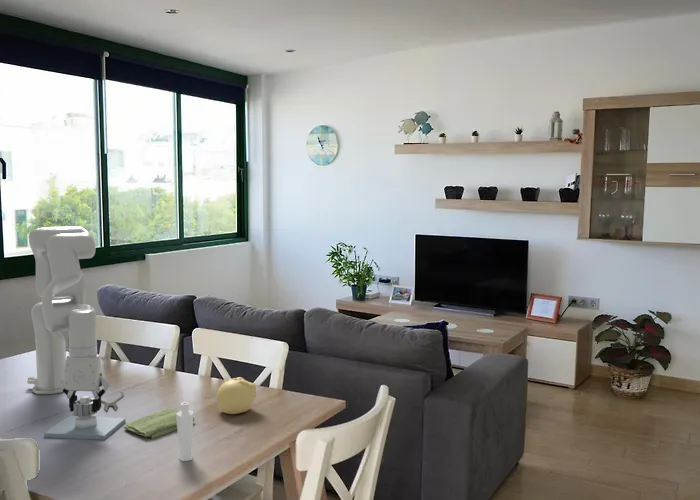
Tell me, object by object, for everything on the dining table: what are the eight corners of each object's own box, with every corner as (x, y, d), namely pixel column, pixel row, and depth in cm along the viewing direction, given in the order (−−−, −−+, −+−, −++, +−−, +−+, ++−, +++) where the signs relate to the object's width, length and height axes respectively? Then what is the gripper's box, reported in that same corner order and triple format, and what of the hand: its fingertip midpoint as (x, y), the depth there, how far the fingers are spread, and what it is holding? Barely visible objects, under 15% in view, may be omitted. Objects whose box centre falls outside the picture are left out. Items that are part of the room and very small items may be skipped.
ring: (69, 416, 191) (69, 404, 191) (80, 408, 197) (79, 397, 197) (90, 417, 190) (90, 405, 190) (100, 409, 197) (100, 398, 196)
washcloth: (121, 431, 194) (121, 421, 194) (170, 415, 208) (170, 405, 208) (148, 442, 186) (147, 431, 186) (197, 424, 200) (197, 414, 200)
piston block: (44, 437, 188) (42, 404, 187) (69, 419, 202) (67, 389, 201) (104, 439, 187) (103, 406, 186) (125, 421, 201) (124, 391, 200)
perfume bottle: (178, 454, 177) (177, 400, 175) (194, 454, 177) (193, 400, 176) (175, 462, 172) (174, 406, 171) (192, 461, 172) (191, 406, 171)
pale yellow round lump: (261, 408, 214) (260, 375, 213) (239, 419, 203) (239, 386, 202) (231, 402, 219) (231, 371, 218) (209, 414, 208) (209, 381, 207)
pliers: (120, 389, 230) (137, 405, 214) (120, 392, 231) (137, 408, 214) (91, 394, 225) (106, 411, 208) (92, 396, 225) (106, 413, 209)
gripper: (48, 353, 189) (50, 413, 191) (105, 355, 188) (107, 416, 189) (61, 347, 197) (63, 405, 198) (117, 348, 195) (119, 407, 197)
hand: (85, 410), depth 194 cm, fingers closed on ring, 6 cm apart
